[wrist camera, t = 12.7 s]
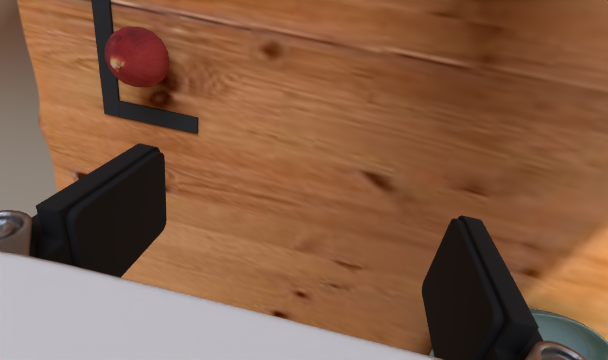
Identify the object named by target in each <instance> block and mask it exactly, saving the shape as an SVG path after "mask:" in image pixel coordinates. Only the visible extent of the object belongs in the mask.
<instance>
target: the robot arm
mask: <svg viewBox="0 0 608 360" xmlns="http://www.w3.org/2000/svg"><path fill="white" fill-rule="evenodd" d="M36 209H37V213H38V214H37V215H35V216H34V217H32V218H31V217H30V216H29V215H28V214H26V213H24V212H20V211H13V210H4V211H0V360H587V359H586V358H585V357H583V356H582V355H581V354H580V353H578V352H576V351H575V350H573V349H571V348H569V347H568V346H565V345H563V344H560V343H558V342H554V341H548V340H546V341H544V340H543V338H542V336H541V335H540V333H539V331H538V328H539V326H538V324H537V323H536V321H535V319H534V317H533V315H532V313H531V311H530V310H529V308H528V306H527V304H526V302H525V300H524V298H523V296H522V295H521V293H520V291H519V289H518V287H517V285H516V283H515V282H514V280H513V278H512V276H511V274H510V272H509V270H508V269H507V267H506V265H505V263H504V261H503V259H502V257H501V255H500V254H499V252H498V250H497V248H496V246H495V244H494V242H493V241H492V239H491V237H490V235H489V233H488V231H487V229H486V227H485V226H484V224H483V222H482V221H481V220H479V219H475V218H471V217H466V216H462V215H461V216H459V217H458V219H452V220H451V222H450V224H449V226H448V228H447V230H446V233H445V235H444V237H443V239H442V242H441V244H440V246H439V248H438V250H437V253H436V255H435V257H434V259H433V262H432V264H431V266H430V268H429V271H428V273H427V275H426V277H425V279H424V282H423V285H422V296H423V301H424V306H425V311H426V317H427V322H428V327H429V332H430V337H431V342H432V348H433V353H434V357H432V356H428V355H424V354H420V353H416V352H412V351H408V350H405V349H401V348H397V347H393V346H389V345H385V344H381V343H377V342H374V341H370V340H366V339H362V338H358V337H354V336H350V335H346V334H342V333H339V332H335V331H331V330H327V329H323V328H319V327H315V326H311V325H307V324H304V323H300V322H296V321H292V320H288V319H284V318H280V317H276V316H272V315H268V314H264V313H260V312H256V311H252V310H248V309H244V308H240V307H236V306H232V305H228V304H224V303H220V302H216V301H212V300H208V299H204V298H200V297H197V296H193V295H188V294H184V293H180V292H176V291H172V290H168V289H164V288H160V287H156V286H152V285H148V284H144V283H140V282H136V281H132V280H128V279H124V278H121V277H122V275H123V274H124V273H125V272H126V271H127V270H128V269H129V268H130V267H131V266H132V264H133V263H134V262H135V261H136V260H137V259H138V258H139V257H140V256H141V254H142V253H143V252H144V251H145V250H146V249H147V248H148V247H149V246H150V244H151V243H152V242H153V241H154V240H155V239H156V238H157V237H158V236H159V235H160V233H161V232H162V231H163V230H164V228H165V225H166V191H165V160H164V154H163V153H161V152H160V150H159V148H157V147H154V146H149V145H145V144H137V145H135V146H134V147H132V148H130V149H129V150H127V151H125V152H124V153H122V154H120V155H119V156H117V157H115V158H114V159H112V160H111V161H109V162H107V163H106V164H104V165H102V166H101V167H99V168H97V169H96V170H94V171H92V172H91V173H89V174H87V175H86V176H84V177H83V178H81V179H79V180H78V181H76V182H74V183H73V184H71V185H69V186H68V187H66V188H64V189H63V190H61V191H59V192H58V193H56V194H54V195H53V196H51V197H50V198H48V199H46V200H45V201H43V202H41V203H40V204H38V205H36Z"/></svg>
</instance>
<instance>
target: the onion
mask: <svg viewBox="0 0 608 360" xmlns="http://www.w3.org/2000/svg"><path fill="white" fill-rule="evenodd" d="M105 60H106V62H107V64H108V67H109V69H110V70H111V72H112V73H113V74H114V76H115V77H117V78H118V79H119V80H121V81H122V82H123V83H125V84H128V85H131V86H134V87H151V86H153V85H155V84H156V83H158V82H160V81H161V80H163V79H164V77H165V75H166V74H167V72H168V67H169V56H168V51H167V49H166V47H165V45H164V43H163V42H162V40H161V39H160V38H159V37H158V36H157V35H155V34H154V33H153V32H152V31H149V30H147V29H145V28H142V27H124V28H121V29H120V30H118V31H116V32H114V33H113V34H112V35H111V36H110V38H109V40H108V42H107V43H106V46H105Z"/></svg>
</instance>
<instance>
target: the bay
mask: <svg viewBox="0 0 608 360" xmlns="http://www.w3.org/2000/svg"><path fill="white" fill-rule="evenodd" d="M91 1H92V9H93V18H94V26H95V35H96V44H97V52H98V61H99V70H100V78H101V87H102V95H103V104H104V113H105V114H108V115H113V116H117V117H122V118H127V119H131V120H136V121H140V122H145V123H150V124H154V125H159V126H163V127H168V128H172V129H177V130H182V131H186V132H191V133H195V134H197V133H198V118H197V117H193V116H188V115H183V114H179V113H174V112H170V111H165V110H160V109H156V108H151V107H146V106H142V105H137V104H132V103H128V102H123V101H120V100H119V89H118V78H117V77H115V76H114V74H113V73H112V72H111V70H110V69H109V67H108V64H107V62H106V60H105V46H106V43H107V42H108V40H109V38H110V36H111V35H112V34H113V24H112V14H111V3H110V0H91Z"/></svg>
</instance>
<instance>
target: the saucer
mask: <svg viewBox="0 0 608 360" xmlns="http://www.w3.org/2000/svg"><path fill="white" fill-rule="evenodd" d="M529 310H530V311H531V313H532V315H533V317H534V319H535V321H536V323H537V324H538V326H539V328H538V331H539V333H540V335H541V336H542V338H543V340H544V341H546V340H548V341H554V342H558V343H560V344H563V345H565V346H568V347H569V348H571V349H573V350H575V351H576V352H578V353H580V354H581V355H582V356H583V357H585V358H586V359H587V360H608V342H607V341H606V340H605V339H604V338H603V337H602V336H600V335H599V334H598V333H596V332H595V331H593V330H592V329H590V328H589V327H587V326H585V325H583V324H581V323H579V322H577V321H575V320H573V319H570V318H568V317H565V316H562V315H558V314H555V313H551V312H546V311H541V310H533V309H529ZM428 356H432V357H434V353H433V348H432V349H431V351H430V353H429V355H428Z"/></svg>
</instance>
